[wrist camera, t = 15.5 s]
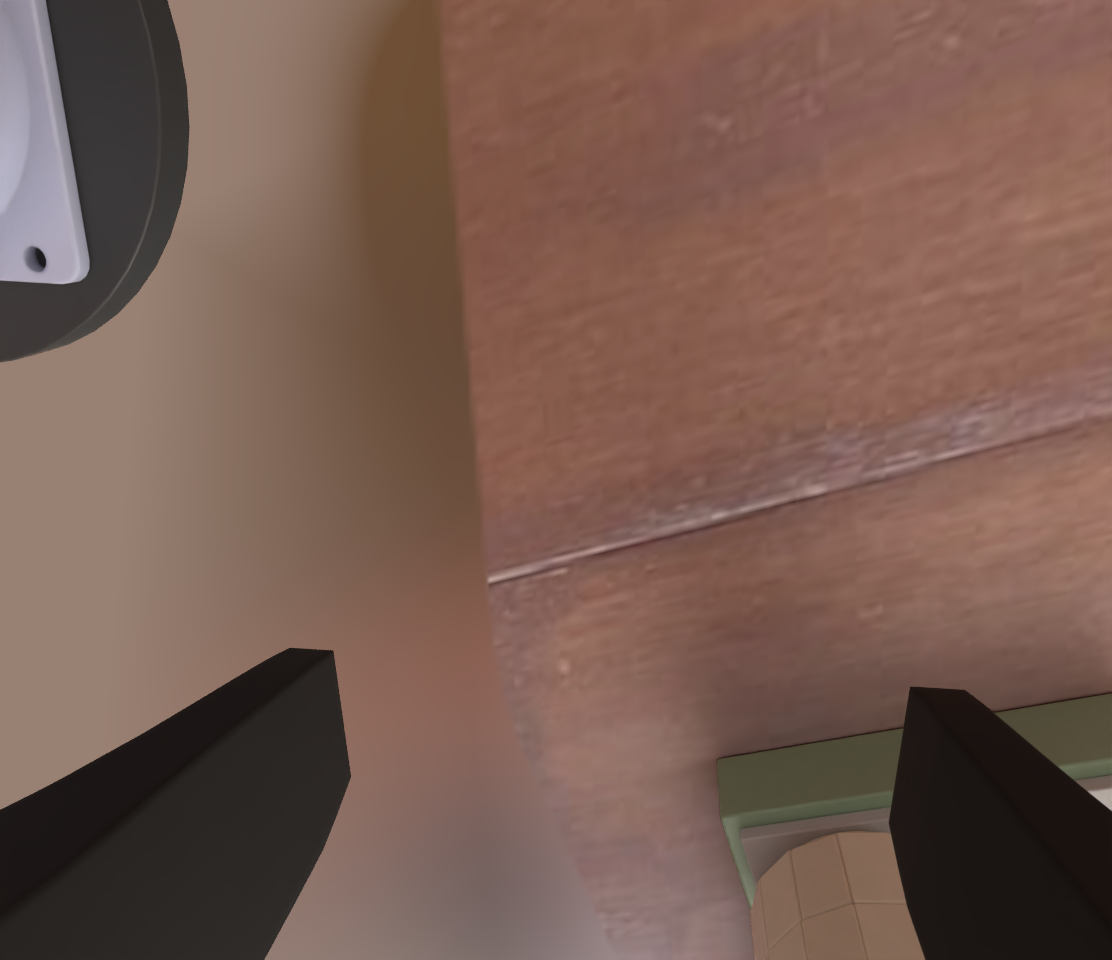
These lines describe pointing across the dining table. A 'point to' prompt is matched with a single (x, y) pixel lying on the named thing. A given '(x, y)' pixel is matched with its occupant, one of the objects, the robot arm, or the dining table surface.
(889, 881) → the small beige cup
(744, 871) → the scale
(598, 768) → the dining table surface
